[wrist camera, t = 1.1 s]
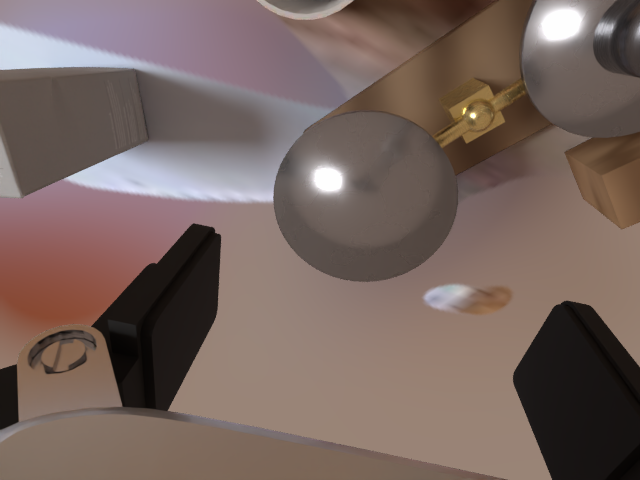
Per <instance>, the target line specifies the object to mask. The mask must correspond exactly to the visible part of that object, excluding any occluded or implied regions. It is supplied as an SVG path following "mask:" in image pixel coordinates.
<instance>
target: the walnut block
mask: <svg viewBox="0 0 640 480" xmlns="http://www.w3.org/2000/svg"><path fill="white" fill-rule="evenodd" d="M565 155H566V157H567V160H568V162H569V165H570V167H571V170H572V172H573V174H574V177H575V179H576V182H577V185H578V187H579V190H580V192H581V195H582V197H583V199H584V200H585V201H587V202H588V203H589V204H590V205H592V206H593V207H594V208H595V209H597V210H598V211H599V212H601V213H602V214H603V215H605V216H606V217H607V218H608V219H609V220H611V221H612V222H613V223H614V224H616V225H617V226H618V227H619V228H621V229H624V228H626V227H629V226H631V225H634V224H636V223H638V222H640V132H637V133H634V134H629V135H624V136H619V137H609V138H594V137H593V138H591V139H589V140H587V141H586V142H584V143H582V144H580V145H578V146H576V147H574V148H572V149H570V150H568V151H566V152H565Z"/></svg>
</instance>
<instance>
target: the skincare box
mask: <svg viewBox="0 0 640 480" xmlns="http://www.w3.org/2000/svg"><path fill="white" fill-rule="evenodd" d="M147 141H148V134H147V129H146V124H145V119H144V114H143V109H142V103H141V98H140V91H139V87H138V82H137V76H136V72H135V70H134V69H127V68H100V67H64V68H33V69H12V70H0V197H4V198H23V197H24V196H26V195H28V194H30V193H33V192H35V191H37V190H39V189H42V188H44V187H46V186H48V185H50V184H52V183H55V182H57V181H59V180H61V179H64V178H66V177H68V176H70V175H73V174H75V173H77V172H79V171H82V170H84V169H86V168H88V167H91V166H93V165H95V164H97V163H100V162H102V161H104V160H106V159H108V158H111V157H113V156H115V155H117V154H120V153H122V152H124V151H127V150H129V149H131V148H133V147H136V146H138V145H140V144H142V143H144V142H147Z"/></svg>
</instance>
